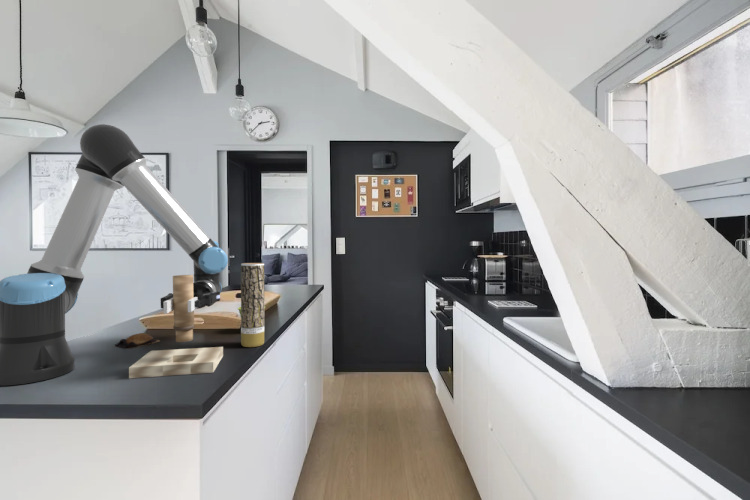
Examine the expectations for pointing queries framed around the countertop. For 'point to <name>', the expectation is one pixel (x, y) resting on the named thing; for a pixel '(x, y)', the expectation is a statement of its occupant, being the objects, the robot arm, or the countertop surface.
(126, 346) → the brown beetle
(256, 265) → the paper tube
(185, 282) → the peg
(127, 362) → the countertop surface
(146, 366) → the board
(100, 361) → the countertop surface
